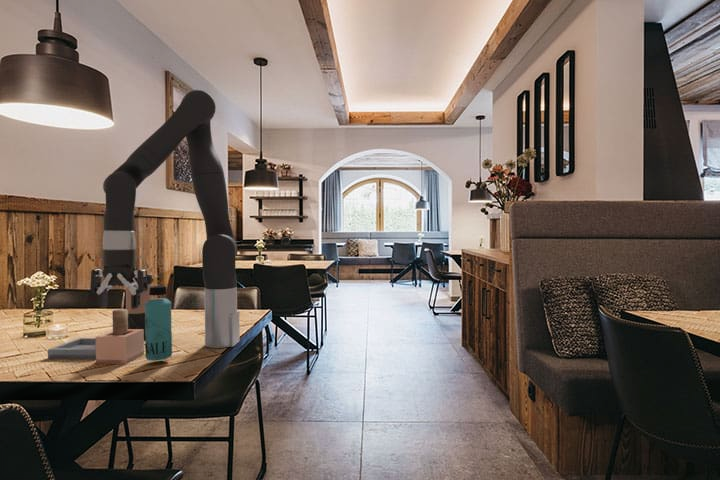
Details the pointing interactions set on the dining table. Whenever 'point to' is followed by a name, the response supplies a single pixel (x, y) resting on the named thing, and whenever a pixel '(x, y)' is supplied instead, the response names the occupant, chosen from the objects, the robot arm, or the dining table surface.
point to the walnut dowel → (120, 322)
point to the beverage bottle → (158, 326)
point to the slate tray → (74, 349)
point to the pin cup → (119, 347)
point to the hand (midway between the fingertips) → (119, 308)
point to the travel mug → (138, 314)
